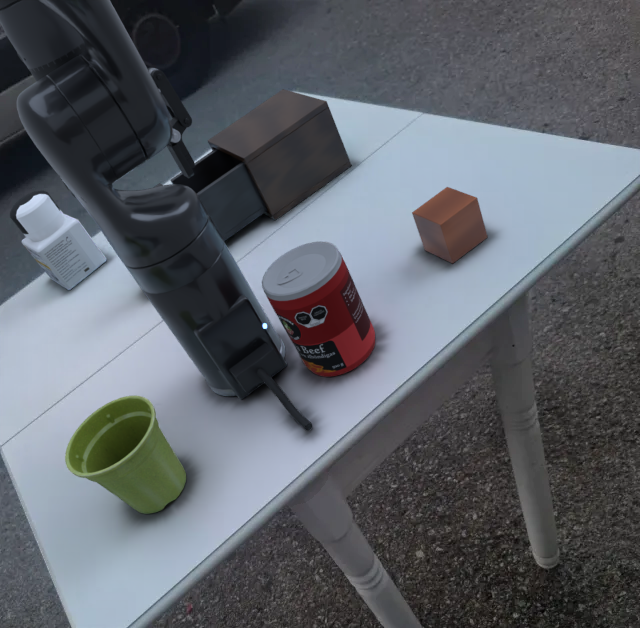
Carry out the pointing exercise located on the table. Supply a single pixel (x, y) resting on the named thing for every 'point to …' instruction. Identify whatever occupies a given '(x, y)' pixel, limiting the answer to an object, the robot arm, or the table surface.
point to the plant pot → (127, 454)
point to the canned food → (320, 308)
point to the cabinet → (286, 148)
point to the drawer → (224, 191)
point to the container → (56, 239)
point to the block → (450, 224)
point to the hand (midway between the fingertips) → (156, 197)
